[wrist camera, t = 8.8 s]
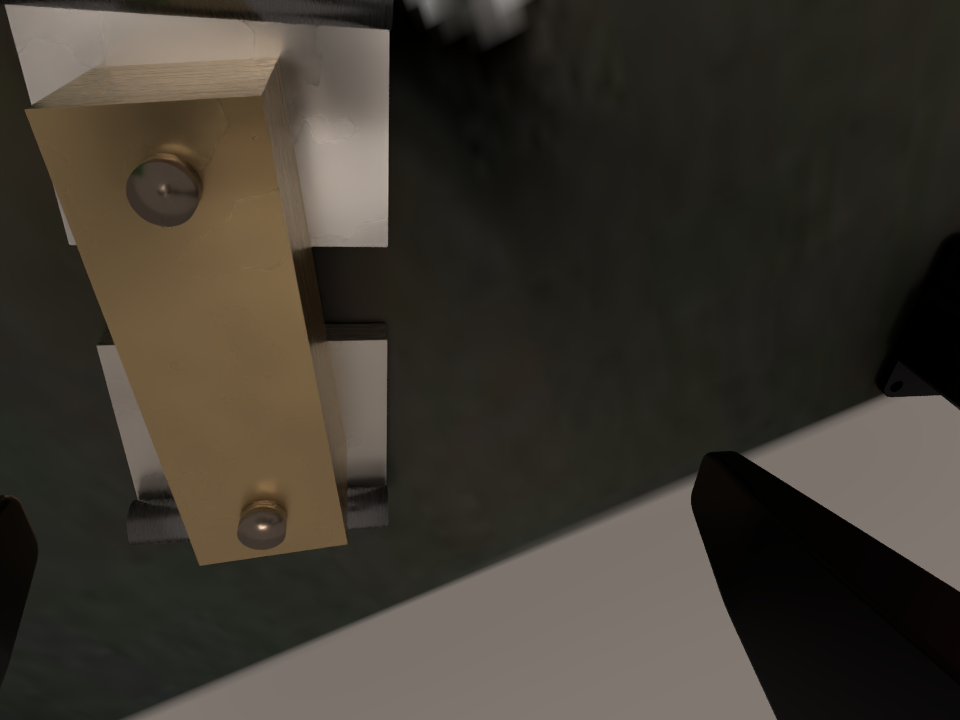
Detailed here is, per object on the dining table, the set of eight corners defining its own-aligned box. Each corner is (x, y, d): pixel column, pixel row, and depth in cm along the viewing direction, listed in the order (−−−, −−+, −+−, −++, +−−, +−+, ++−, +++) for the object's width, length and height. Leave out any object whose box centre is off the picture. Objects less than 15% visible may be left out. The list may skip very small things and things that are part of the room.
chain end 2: (385, 323, 21) (390, 366, 19) (384, 488, 25) (388, 537, 23) (106, 327, 19) (80, 374, 17) (151, 502, 23) (133, 556, 21)
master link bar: (278, 57, 15) (258, 103, 12) (346, 450, 22) (347, 560, 18) (94, 66, 15) (9, 118, 11) (221, 466, 22) (195, 583, 18)
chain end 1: (387, -52, 15) (393, -48, 13) (386, 232, 19) (390, 268, 17) (1, -86, 14) (-55, -88, 12) (82, 229, 18) (49, 269, 16)
